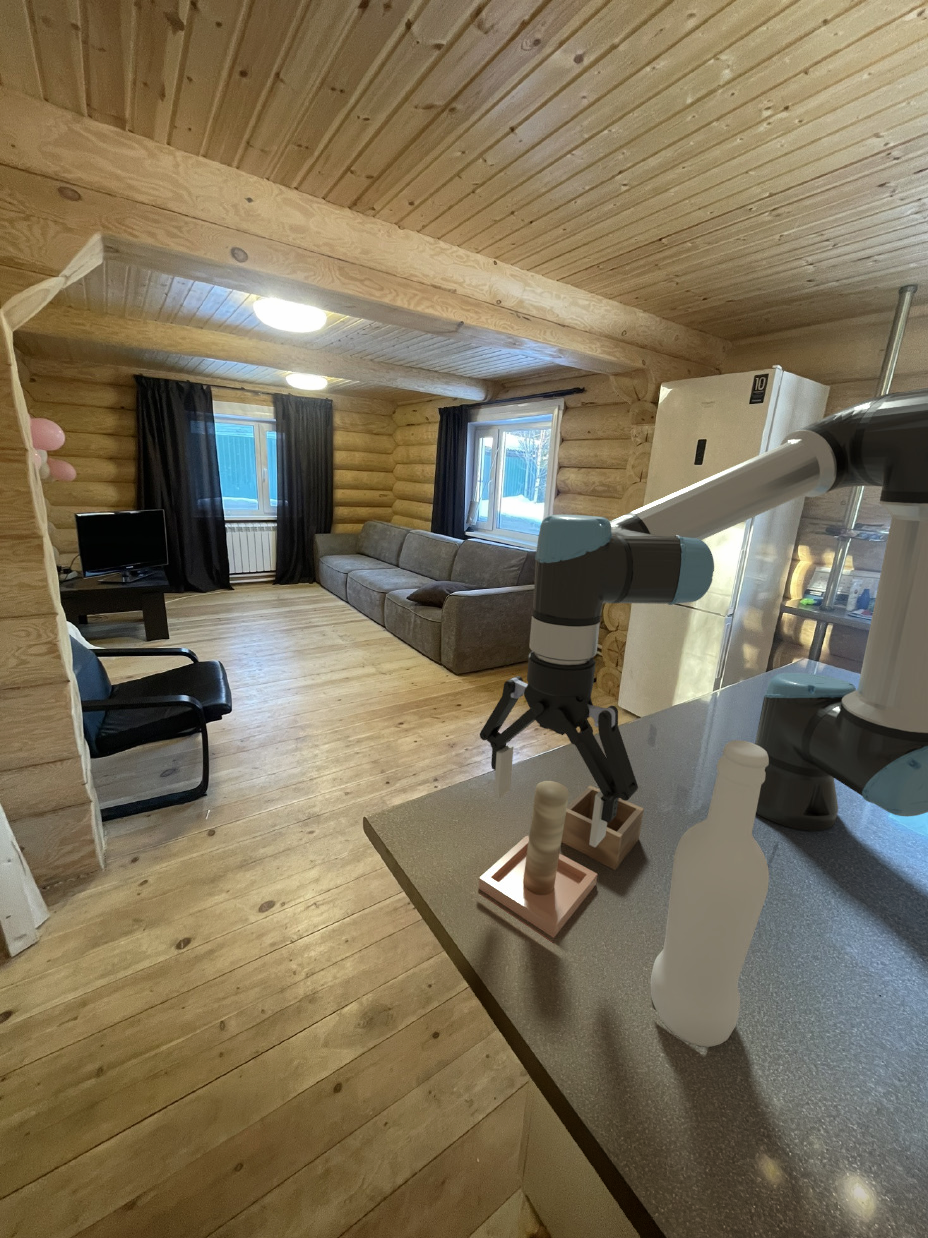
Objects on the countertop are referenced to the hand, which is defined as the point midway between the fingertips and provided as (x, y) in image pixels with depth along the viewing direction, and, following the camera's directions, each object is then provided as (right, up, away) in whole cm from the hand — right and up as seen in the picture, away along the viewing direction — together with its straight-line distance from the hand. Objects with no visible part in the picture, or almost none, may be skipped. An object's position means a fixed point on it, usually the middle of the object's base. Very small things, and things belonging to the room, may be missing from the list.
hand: (546, 815), depth 64 cm
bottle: (+13, -16, -11) cm, 23 cm away
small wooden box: (+10, -9, +12) cm, 18 cm away
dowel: (-1, -10, +3) cm, 10 cm away
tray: (-1, -11, +3) cm, 11 cm away
